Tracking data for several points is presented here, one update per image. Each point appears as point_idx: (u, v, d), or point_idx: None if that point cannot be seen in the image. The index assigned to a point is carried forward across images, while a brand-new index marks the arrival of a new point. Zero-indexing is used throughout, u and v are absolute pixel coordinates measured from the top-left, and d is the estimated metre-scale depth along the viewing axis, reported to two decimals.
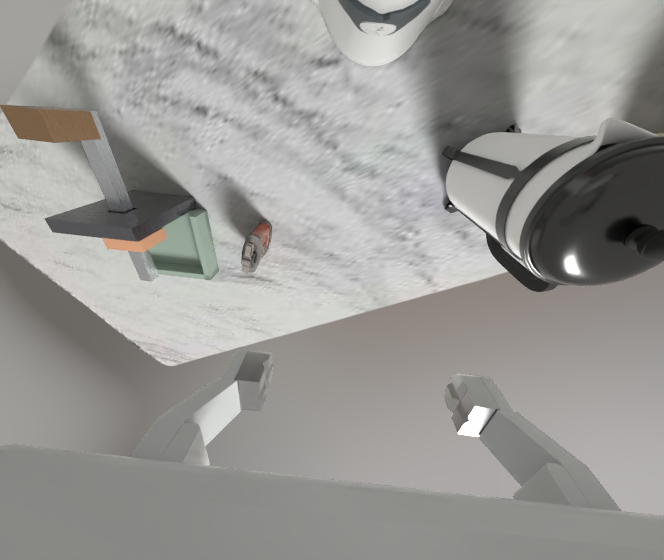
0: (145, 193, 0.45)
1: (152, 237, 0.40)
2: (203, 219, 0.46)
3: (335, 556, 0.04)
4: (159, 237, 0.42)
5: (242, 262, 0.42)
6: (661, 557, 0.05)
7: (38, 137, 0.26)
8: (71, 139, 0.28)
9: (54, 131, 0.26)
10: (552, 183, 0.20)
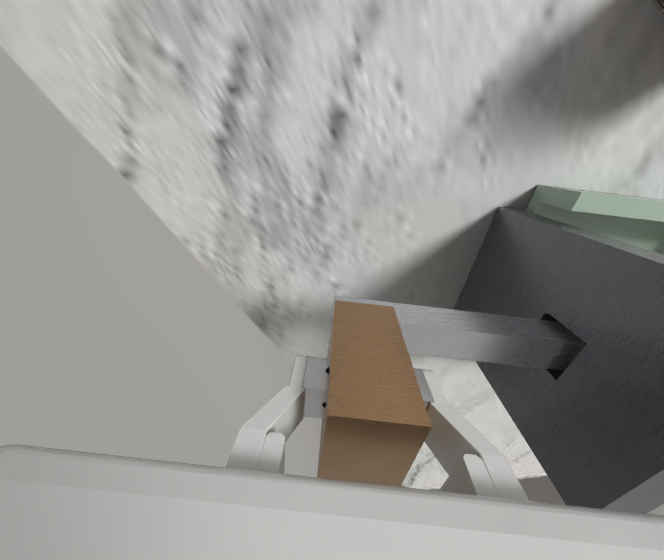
0: (463, 299, 0.23)
1: None
2: (572, 189, 0.17)
3: (335, 556, 0.04)
4: None
5: None
6: (661, 557, 0.05)
7: (406, 455, 0.08)
8: (407, 368, 0.09)
9: (390, 404, 0.07)
10: None
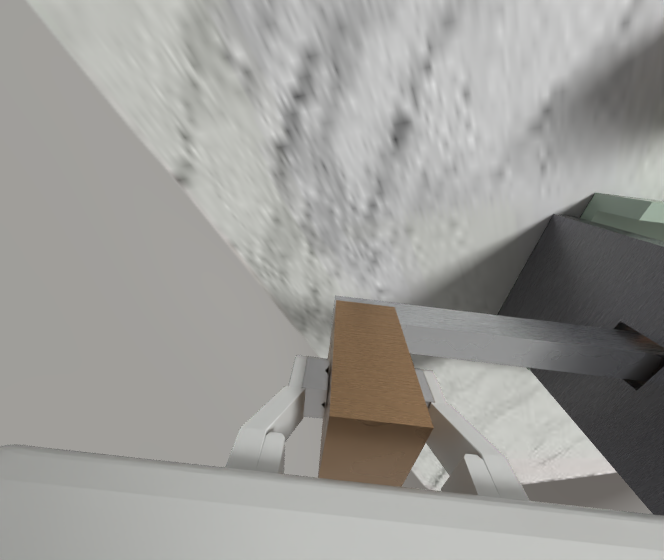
0: (510, 305, 0.23)
1: None
2: (634, 198, 0.17)
3: (335, 557, 0.04)
4: None
5: None
6: (661, 557, 0.05)
7: (408, 455, 0.08)
8: (409, 369, 0.09)
9: (392, 405, 0.07)
10: None
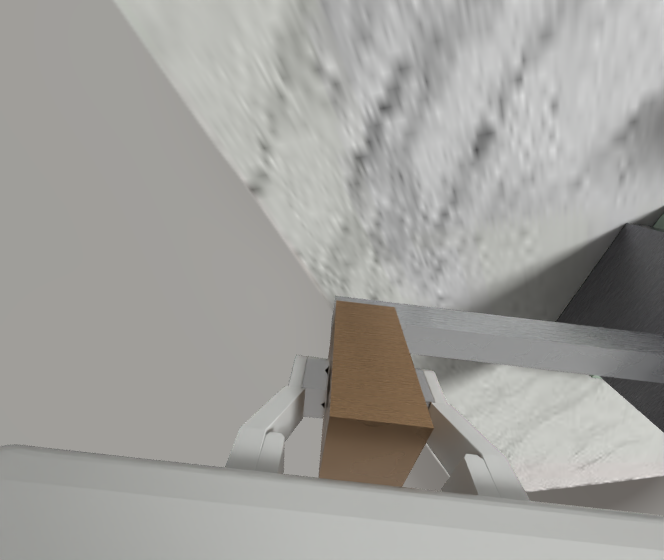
0: (572, 312, 0.24)
1: None
2: None
3: (335, 557, 0.04)
4: None
5: None
6: (661, 557, 0.05)
7: (408, 456, 0.07)
8: (409, 369, 0.09)
9: (392, 405, 0.07)
10: None
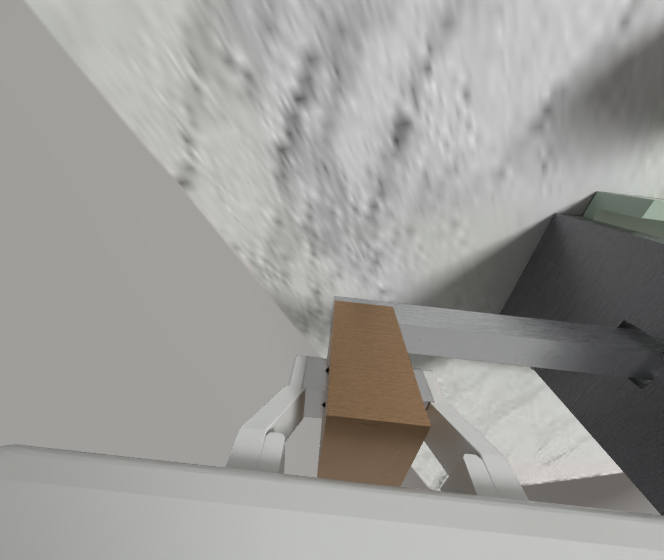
0: (512, 304, 0.23)
1: None
2: (636, 196, 0.17)
3: (335, 556, 0.04)
4: None
5: None
6: (661, 557, 0.05)
7: (406, 455, 0.08)
8: (407, 368, 0.09)
9: (390, 404, 0.07)
10: None
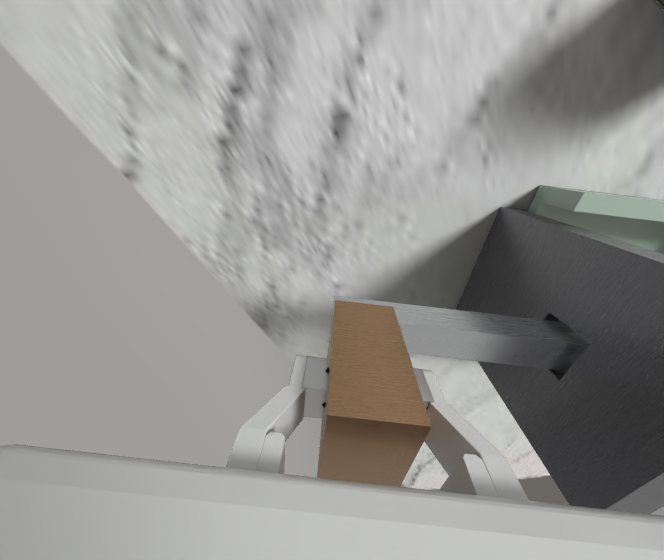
0: (465, 299, 0.23)
1: None
2: (574, 190, 0.17)
3: (335, 556, 0.04)
4: None
5: None
6: (661, 557, 0.05)
7: (406, 454, 0.08)
8: (407, 368, 0.09)
9: (390, 404, 0.07)
10: None
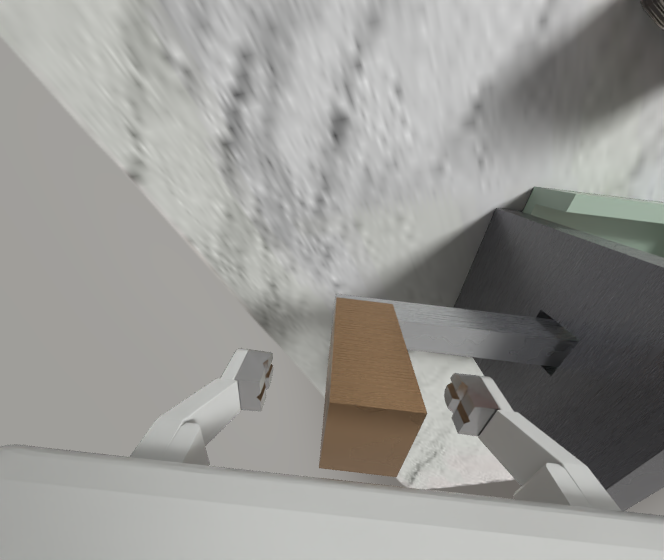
0: (462, 298, 0.24)
1: None
2: (567, 191, 0.18)
3: (335, 556, 0.04)
4: None
5: None
6: (661, 557, 0.05)
7: (404, 441, 0.08)
8: (405, 361, 0.09)
9: (388, 393, 0.08)
10: None
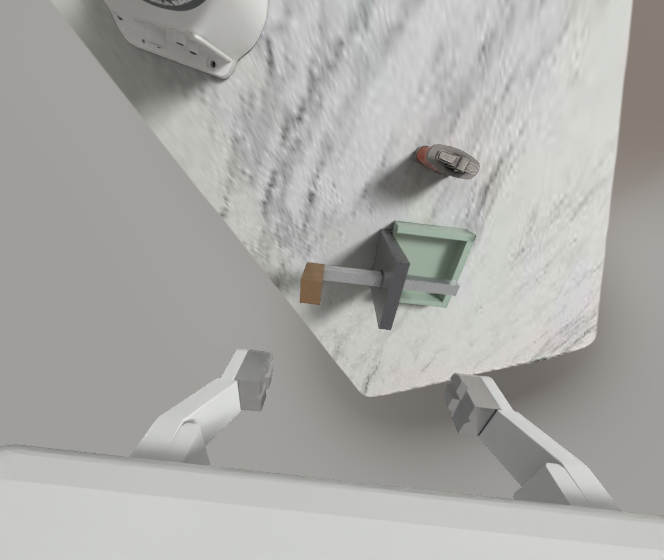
0: None
1: None
2: (402, 223, 0.45)
3: (335, 556, 0.04)
4: None
5: (461, 168, 0.32)
6: (661, 557, 0.05)
7: (318, 291, 0.35)
8: (321, 275, 0.36)
9: (314, 279, 0.34)
10: None
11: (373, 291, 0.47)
